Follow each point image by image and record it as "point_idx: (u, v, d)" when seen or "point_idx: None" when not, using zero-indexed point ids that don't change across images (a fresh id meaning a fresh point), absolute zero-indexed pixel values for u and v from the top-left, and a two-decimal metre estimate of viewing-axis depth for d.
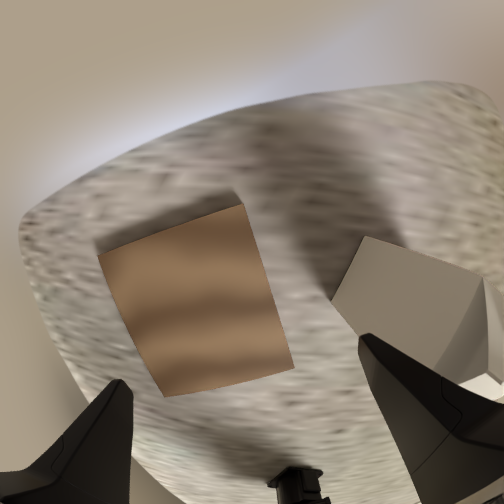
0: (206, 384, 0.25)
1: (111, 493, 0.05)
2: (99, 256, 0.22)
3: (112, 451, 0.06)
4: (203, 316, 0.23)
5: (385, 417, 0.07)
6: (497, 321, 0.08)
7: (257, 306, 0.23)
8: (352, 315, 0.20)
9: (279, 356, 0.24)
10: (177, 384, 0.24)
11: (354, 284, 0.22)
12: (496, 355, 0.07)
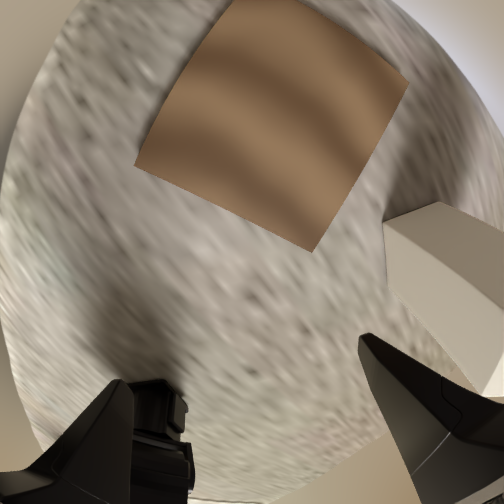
0: (207, 188, 0.17)
1: (111, 493, 0.05)
2: None
3: (112, 451, 0.06)
4: (296, 112, 0.16)
5: (385, 417, 0.07)
6: None
7: (348, 156, 0.17)
8: (423, 240, 0.17)
9: (314, 225, 0.19)
10: (171, 160, 0.16)
11: (425, 222, 0.19)
12: None
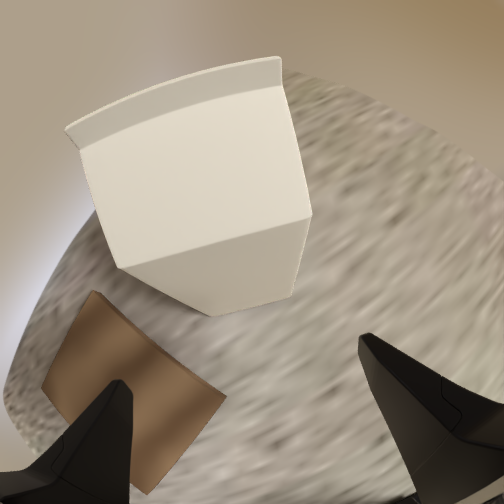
0: (164, 462, 0.17)
1: (111, 493, 0.05)
2: (42, 387, 0.20)
3: (112, 451, 0.06)
4: None
5: (385, 417, 0.07)
6: None
7: (143, 359, 0.21)
8: None
9: (197, 395, 0.19)
10: (144, 475, 0.17)
11: None
12: None
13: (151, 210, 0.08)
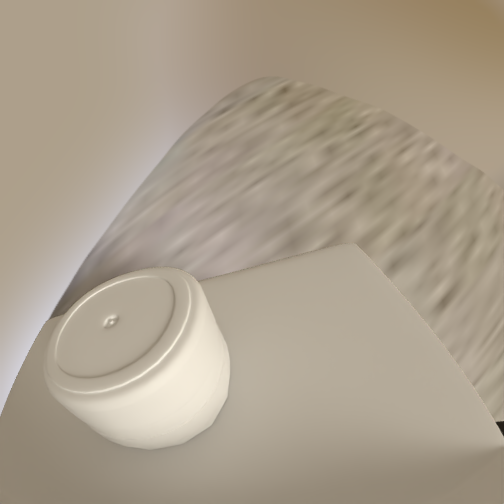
0: None
1: None
2: None
3: None
4: None
5: None
6: None
7: None
8: None
9: None
10: None
11: None
12: (17, 458, 0.02)
13: None
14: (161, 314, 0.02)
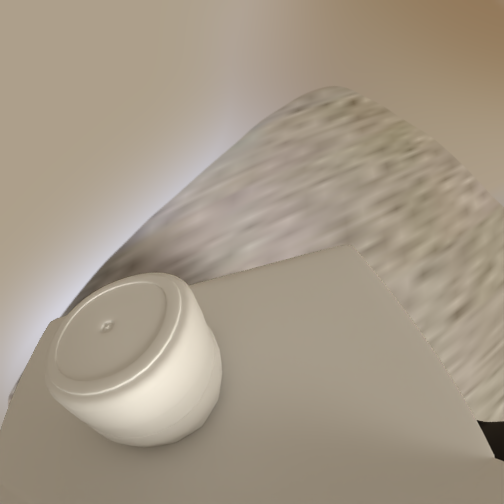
0: None
1: None
2: None
3: None
4: None
5: None
6: None
7: None
8: None
9: None
10: None
11: None
12: (21, 454, 0.02)
13: None
14: (153, 320, 0.03)
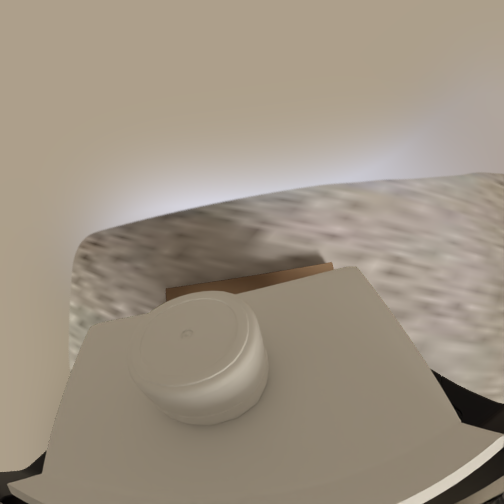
0: None
1: None
2: (167, 289, 0.22)
3: None
4: None
5: None
6: (108, 378, 0.05)
7: None
8: None
9: None
10: None
11: None
12: (83, 448, 0.03)
13: None
14: (228, 328, 0.04)
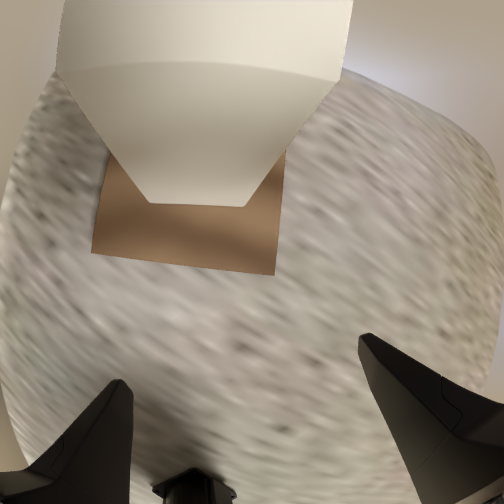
0: (156, 251, 0.19)
1: (111, 493, 0.05)
2: None
3: (112, 451, 0.06)
4: None
5: (385, 417, 0.07)
6: None
7: None
8: None
9: (263, 249, 0.20)
10: (119, 238, 0.18)
11: None
12: None
13: (133, 3, 0.04)
14: None
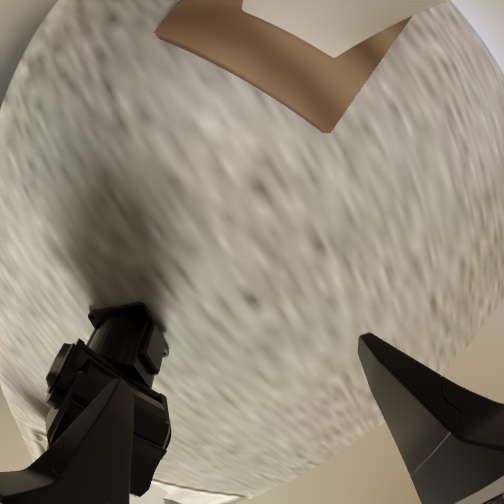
0: (225, 52, 0.14)
1: (111, 493, 0.05)
2: None
3: (112, 451, 0.06)
4: None
5: (385, 417, 0.07)
6: None
7: (364, 47, 0.14)
8: None
9: (332, 103, 0.16)
10: (192, 28, 0.13)
11: None
12: None
13: None
14: None
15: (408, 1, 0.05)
